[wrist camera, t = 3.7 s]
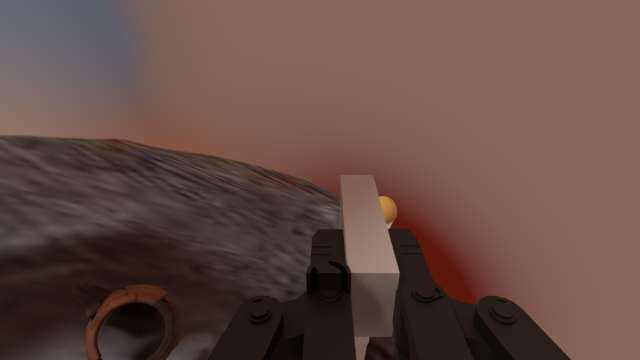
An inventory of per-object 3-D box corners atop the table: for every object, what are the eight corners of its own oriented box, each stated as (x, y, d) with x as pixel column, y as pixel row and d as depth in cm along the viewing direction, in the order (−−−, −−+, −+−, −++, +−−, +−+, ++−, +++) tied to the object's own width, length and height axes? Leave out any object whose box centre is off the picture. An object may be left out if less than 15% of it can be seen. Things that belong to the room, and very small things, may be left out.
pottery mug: (196, 308, 42) (201, 307, 35) (147, 390, 38) (141, 408, 31) (106, 260, 40) (91, 249, 33) (42, 341, 36) (10, 348, 29)
